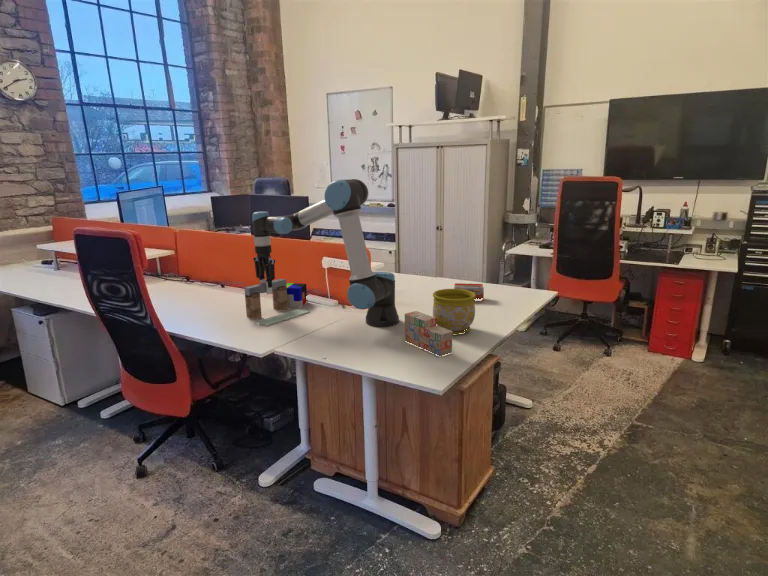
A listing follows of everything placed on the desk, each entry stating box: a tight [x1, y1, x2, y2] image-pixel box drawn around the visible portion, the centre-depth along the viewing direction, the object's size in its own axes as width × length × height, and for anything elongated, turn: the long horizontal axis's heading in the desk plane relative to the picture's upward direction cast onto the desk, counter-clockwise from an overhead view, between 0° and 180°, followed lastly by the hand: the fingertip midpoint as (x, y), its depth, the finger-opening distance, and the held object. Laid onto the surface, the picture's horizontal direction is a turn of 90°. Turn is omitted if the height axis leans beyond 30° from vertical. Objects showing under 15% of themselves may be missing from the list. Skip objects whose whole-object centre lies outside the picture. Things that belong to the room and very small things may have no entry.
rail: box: [244, 278, 287, 296], centre depth 236 cm, size 22×4×4 cm, turn 141°
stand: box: [244, 286, 289, 320], centre depth 238 cm, size 6×20×12 cm, turn 141°
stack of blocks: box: [404, 310, 454, 356], centre depth 191 cm, size 21×6×12 cm, turn 36°
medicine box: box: [453, 283, 485, 299], centre depth 258 cm, size 15×8×8 cm, turn 82°
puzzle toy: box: [286, 282, 308, 308], centre depth 253 cm, size 10×10×10 cm
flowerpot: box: [432, 288, 476, 334], centre depth 210 cm, size 18×18×16 cm
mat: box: [255, 308, 311, 327], centre depth 232 cm, size 8×26×1 cm, turn 141°
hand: (266, 293), depth 237 cm, fingers closed on rail, 3 cm apart
